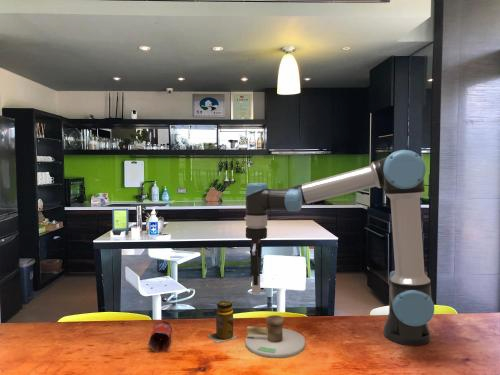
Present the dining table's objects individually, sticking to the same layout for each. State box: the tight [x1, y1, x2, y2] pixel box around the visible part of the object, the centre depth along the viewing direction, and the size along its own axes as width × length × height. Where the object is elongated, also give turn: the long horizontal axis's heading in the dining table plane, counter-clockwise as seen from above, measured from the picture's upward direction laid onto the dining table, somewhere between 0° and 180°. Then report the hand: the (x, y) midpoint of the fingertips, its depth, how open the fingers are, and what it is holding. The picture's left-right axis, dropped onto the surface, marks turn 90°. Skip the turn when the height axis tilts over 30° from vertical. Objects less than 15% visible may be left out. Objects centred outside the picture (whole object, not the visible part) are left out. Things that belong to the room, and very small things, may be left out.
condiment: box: [206, 300, 238, 344], centre depth 139 cm, size 7×8×12 cm
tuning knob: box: [246, 314, 285, 342], centre depth 133 cm, size 12×6×7 cm, turn 80°
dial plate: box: [245, 327, 306, 359], centre depth 133 cm, size 20×20×2 cm
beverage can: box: [147, 320, 173, 353], centre depth 133 cm, size 7×12×7 cm, turn 7°
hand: (256, 293), depth 139 cm, fingers closed
